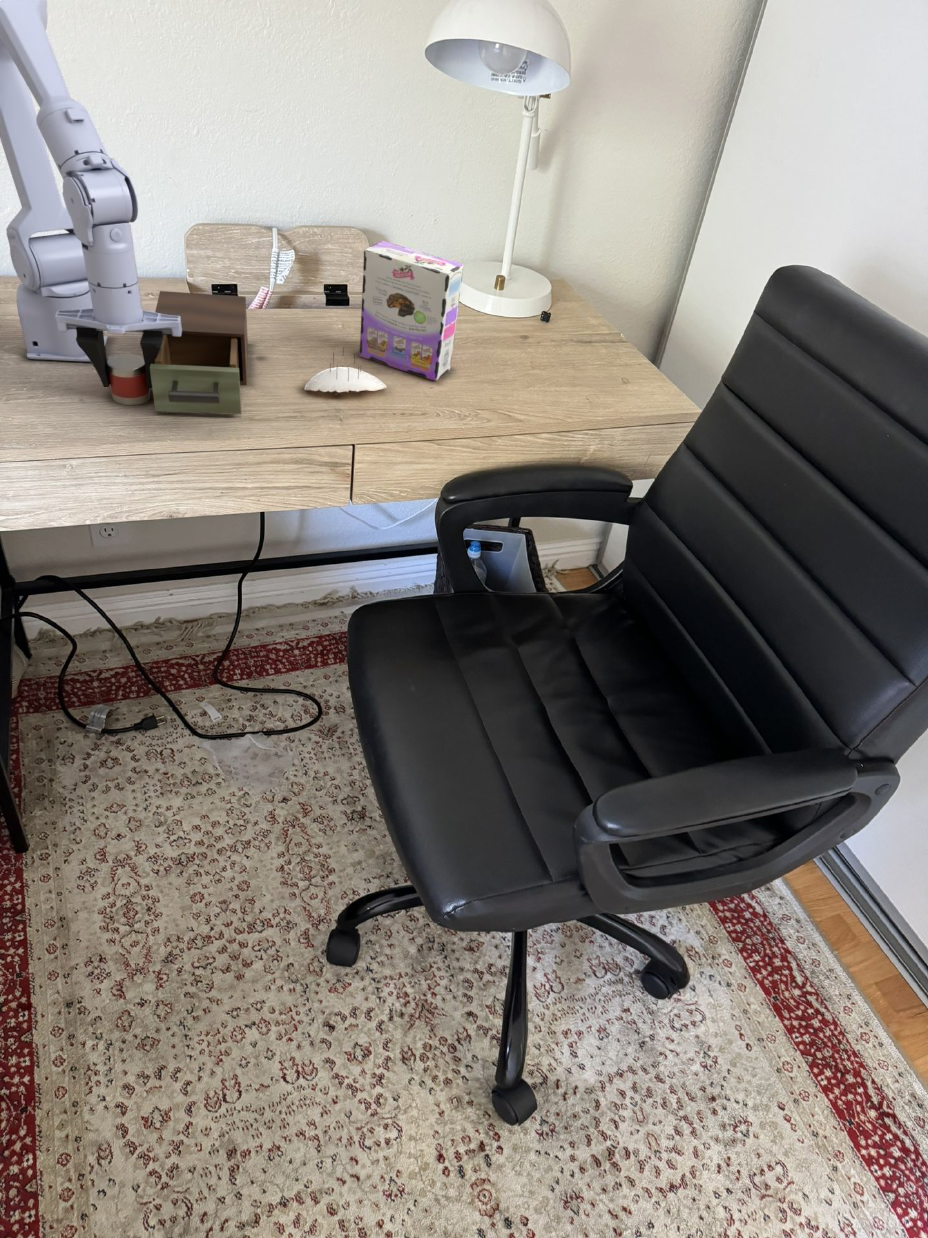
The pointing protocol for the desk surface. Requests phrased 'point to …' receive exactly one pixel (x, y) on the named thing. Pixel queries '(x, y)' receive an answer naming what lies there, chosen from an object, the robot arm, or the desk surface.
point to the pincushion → (344, 380)
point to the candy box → (409, 309)
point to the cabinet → (210, 318)
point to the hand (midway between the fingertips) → (129, 384)
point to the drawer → (197, 374)
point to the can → (128, 379)
